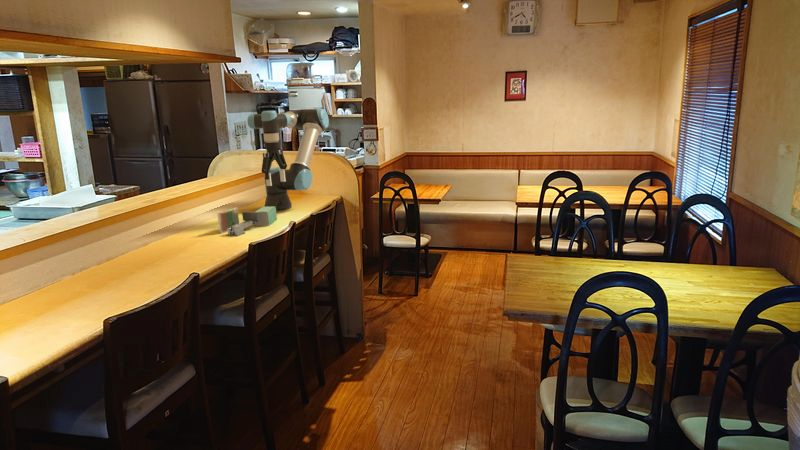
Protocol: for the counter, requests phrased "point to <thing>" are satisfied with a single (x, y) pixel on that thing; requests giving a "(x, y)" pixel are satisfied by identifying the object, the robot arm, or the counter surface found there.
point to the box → (266, 216)
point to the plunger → (247, 219)
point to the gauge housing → (229, 222)
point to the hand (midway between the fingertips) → (276, 183)
